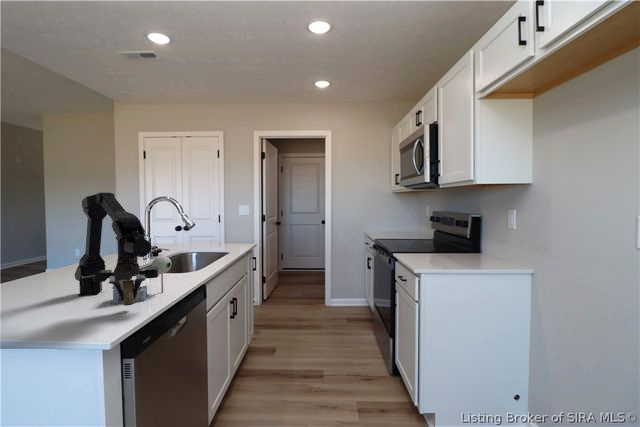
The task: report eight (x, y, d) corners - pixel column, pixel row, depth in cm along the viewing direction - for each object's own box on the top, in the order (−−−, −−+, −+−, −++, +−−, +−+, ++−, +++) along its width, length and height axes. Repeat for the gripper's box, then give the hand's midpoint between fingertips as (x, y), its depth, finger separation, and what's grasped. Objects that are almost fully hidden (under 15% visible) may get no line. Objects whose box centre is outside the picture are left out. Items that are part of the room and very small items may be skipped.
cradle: (110, 304, 116) (109, 281, 115) (115, 298, 123) (114, 276, 122) (145, 301, 119) (144, 278, 119) (148, 295, 126) (147, 274, 126)
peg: (122, 306, 107) (121, 282, 107) (124, 303, 110) (124, 280, 110) (133, 304, 108) (132, 281, 108) (135, 302, 111) (134, 279, 111)
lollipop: (164, 295, 126) (163, 257, 125) (148, 294, 127) (147, 257, 127) (175, 290, 133) (174, 254, 132) (160, 289, 134) (159, 253, 133)
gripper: (86, 259, 98) (88, 310, 99) (154, 256, 104) (156, 303, 105) (98, 253, 108) (99, 299, 109) (159, 250, 114) (160, 293, 115)
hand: (129, 299), depth 109 cm, fingers closed on peg, 3 cm apart
